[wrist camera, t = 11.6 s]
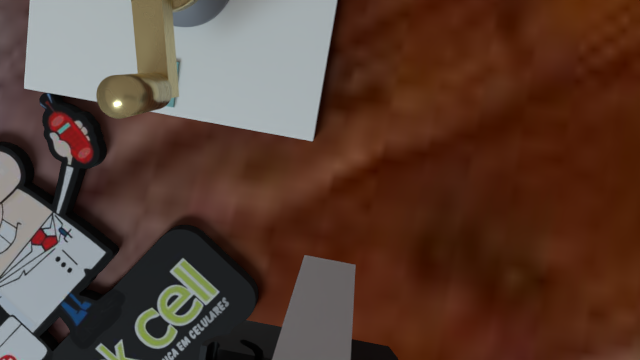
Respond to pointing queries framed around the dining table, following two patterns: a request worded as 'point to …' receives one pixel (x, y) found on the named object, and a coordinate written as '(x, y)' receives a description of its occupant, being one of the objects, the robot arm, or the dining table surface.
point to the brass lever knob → (146, 62)
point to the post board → (195, 57)
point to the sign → (101, 267)
